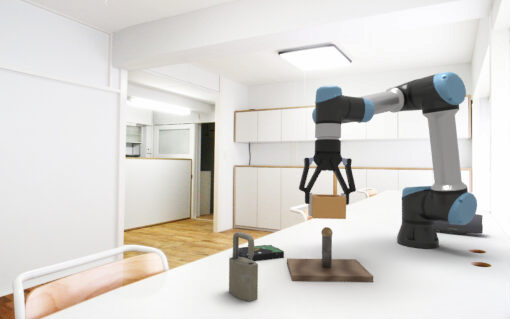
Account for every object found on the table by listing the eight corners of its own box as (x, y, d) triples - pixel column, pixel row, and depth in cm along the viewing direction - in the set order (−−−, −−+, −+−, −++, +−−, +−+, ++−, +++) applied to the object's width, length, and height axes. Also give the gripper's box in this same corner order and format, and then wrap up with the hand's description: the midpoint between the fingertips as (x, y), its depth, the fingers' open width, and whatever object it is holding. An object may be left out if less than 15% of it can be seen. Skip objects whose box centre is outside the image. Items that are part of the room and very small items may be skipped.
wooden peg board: (355, 264, 107) (356, 222, 107) (373, 282, 91) (373, 233, 91) (286, 263, 107) (287, 222, 107) (292, 280, 91) (292, 232, 91)
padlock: (246, 302, 77) (247, 236, 77) (226, 291, 83) (227, 231, 83) (260, 298, 79) (260, 234, 79) (238, 288, 86) (239, 229, 86)
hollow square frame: (338, 214, 104) (338, 194, 104) (345, 219, 95) (346, 197, 95) (308, 213, 104) (309, 194, 104) (313, 218, 95) (314, 197, 95)
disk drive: (244, 264, 107) (284, 259, 113) (244, 256, 107) (284, 250, 113) (232, 256, 117) (270, 251, 123) (232, 248, 117) (270, 243, 123)
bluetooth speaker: (481, 234, 155) (482, 212, 155) (482, 238, 147) (482, 215, 147) (426, 228, 167) (426, 208, 167) (424, 231, 159) (424, 210, 159)
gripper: (360, 140, 103) (359, 214, 103) (289, 139, 103) (288, 212, 103) (368, 139, 96) (367, 218, 95) (292, 137, 96) (291, 216, 95)
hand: (326, 215), depth 99 cm, fingers closed on hollow square frame, 9 cm apart
